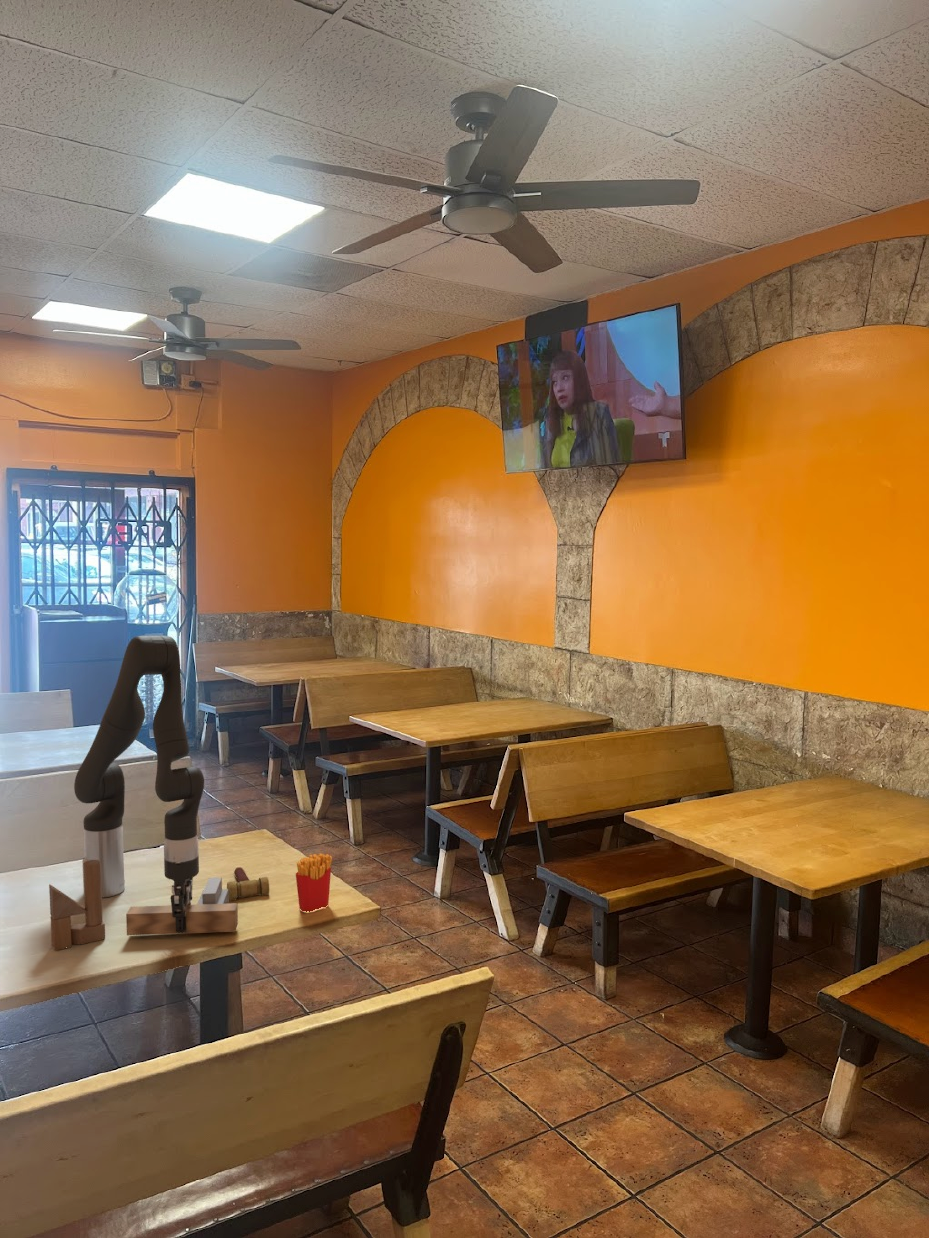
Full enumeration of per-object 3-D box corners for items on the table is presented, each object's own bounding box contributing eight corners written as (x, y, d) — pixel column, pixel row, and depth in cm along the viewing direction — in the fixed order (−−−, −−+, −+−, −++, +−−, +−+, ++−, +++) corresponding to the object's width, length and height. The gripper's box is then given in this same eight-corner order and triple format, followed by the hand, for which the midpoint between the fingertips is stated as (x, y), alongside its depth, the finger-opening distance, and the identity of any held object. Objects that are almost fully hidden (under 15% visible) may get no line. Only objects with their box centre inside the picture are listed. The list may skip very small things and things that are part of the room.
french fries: (302, 915, 220) (301, 863, 219) (294, 909, 224) (293, 858, 222) (335, 905, 226) (334, 854, 225) (327, 900, 229) (326, 850, 228)
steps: (196, 927, 214) (195, 894, 213) (203, 909, 224) (202, 878, 223) (222, 925, 214) (222, 892, 214) (228, 908, 224) (228, 877, 223)
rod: (126, 935, 206) (126, 913, 206) (131, 927, 210) (130, 906, 210) (235, 931, 209) (235, 910, 208) (237, 923, 213) (237, 903, 212)
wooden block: (51, 945, 204) (48, 867, 203) (101, 933, 210) (98, 857, 209) (54, 951, 201) (51, 872, 200) (105, 939, 207) (102, 862, 206)
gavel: (218, 862, 247) (255, 858, 251) (218, 879, 248) (255, 874, 251) (228, 885, 228) (269, 879, 232) (229, 903, 228) (269, 897, 232)
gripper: (170, 844, 214) (172, 914, 216) (157, 866, 200) (159, 941, 202) (203, 843, 215) (204, 913, 217) (192, 865, 201) (194, 940, 203)
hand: (183, 926), depth 209 cm, fingers closed on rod, 4 cm apart
